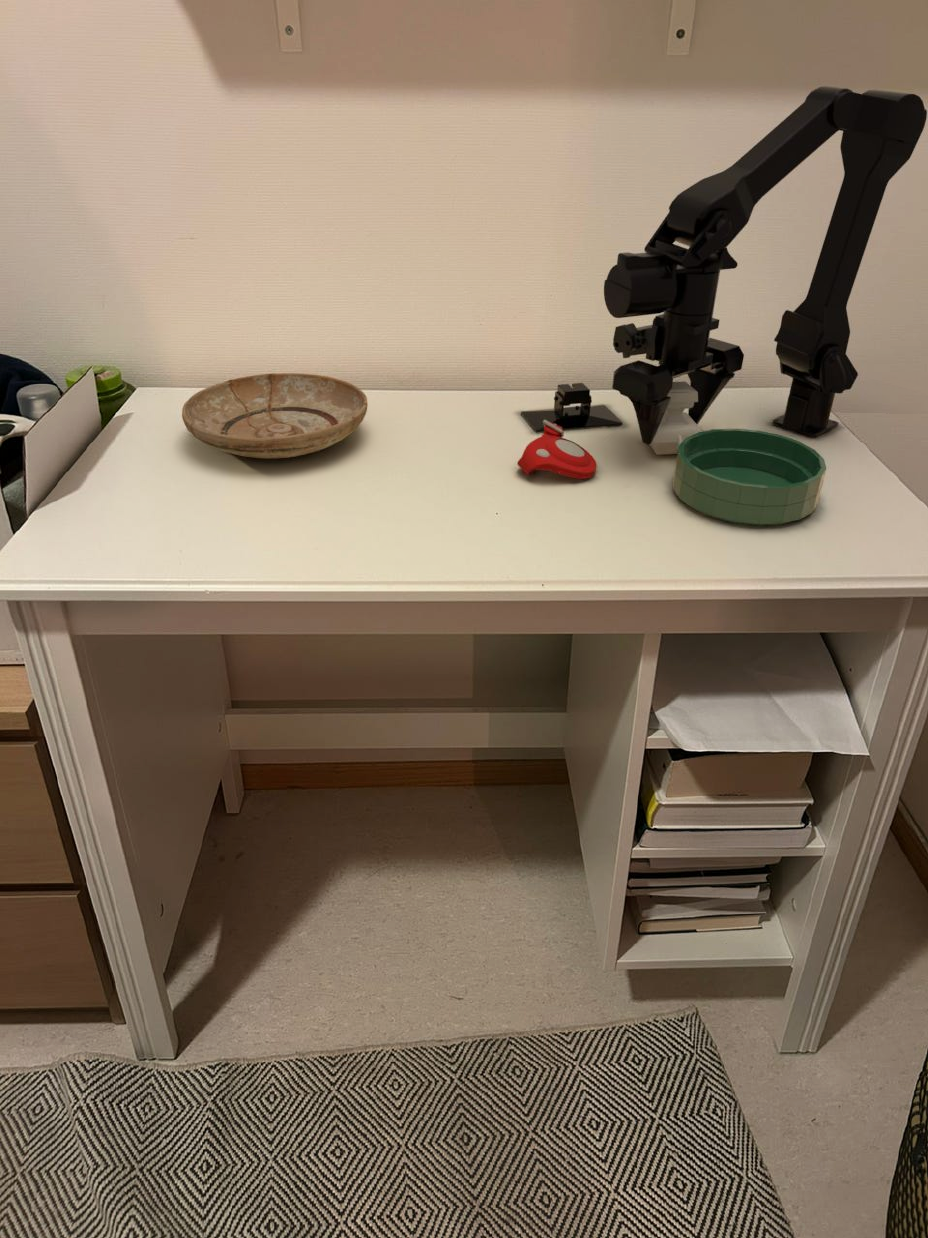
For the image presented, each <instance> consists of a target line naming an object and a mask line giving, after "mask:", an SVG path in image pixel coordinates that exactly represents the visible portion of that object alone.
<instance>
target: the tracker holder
mask: <svg viewBox="0 0 928 1238" xmlns="http://www.w3.org/2000/svg"><path fill="white" fill-rule="evenodd" d="M543 424H544V427H545V428H544V431H545V432H542V435H541V436H539V437H537V438H535V439H534V440H531V442H529V443H528V444H527V445H526V447H525V449H524V450H523V453H522V455H521V457H520V458H519V459H518V461H517V465H518V467H519V468H520V469H521V470H522V471H523V472H524V473H525V475H527V476H529V475H531V474H532V473H533V472H534V471H551V472H553V473H555V474H558V475H561V476H564V477H569V478H573V479H578V480H586V479H589V478H592V477H593V476H594V474H595V472H596V471H597V467H598V465H597V461H596V459H595V458H594V456H593V455H592V454H591V453H590V452H589V451H588V450H587V449H585V448H584V447H582V446H581V445H579V443H576V442H575V441H572V440H570V439H566V438H564V436H565V435H564V430H562V429H563V428H562V427H560V426H558V425H557V424H553V423H550V422H548V421H546V420H544V421H543Z"/></svg>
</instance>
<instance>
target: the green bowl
mask: <svg viewBox="0 0 928 1238" xmlns="http://www.w3.org/2000/svg"><path fill="white" fill-rule="evenodd" d="M826 472H827V464H826V460H825V458H824V457H823V456H822V455H821V454H820V453H818V451H816V450H815V449H814V448H812V447H810V446H808V445H807V444H806V443H805V444H804V443H803V442H801V441H799V440H796V439H793V438H790V437H787V436H785V435H782V434H779V433H772V432H768V431H763V430H758V429H745V428H715V429H709V430H702V432H699V433H696V434H694V435H691V436H689V437H687V438H685V439H684V440H683V441H682V442H681V443H680V444H679V446H678V453H677V454H676V460H675V467H674V472H673V473H674V474H673V480H672V489H673V491H674V492H675V494H676V496H677V497H678V498H679V499H680V500H681V502H683V503H685V504H687V505H688V506H689V507H690V508H692V509H693V510H694V511H696V512H699V513H701V514H702V515H705V516H708V517H710V518H713V519H716V520H719V521H722V522H728V523H731V524H736V525H737V524H738V525H744V526H757V527H758V526H759V527H761V526H763V527H764V526H777V525H783V524H787V523H788V524H789V523H791V522H794V521H799V520H802V519H803V518H805V517H807V516H808V515H810V514H812V513H814V511H815V509H816V507H817V505H818V504H819V499H820V496H821V492H822V488H823V485H824V484H823V483H824V480H825V476H826Z"/></svg>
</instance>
